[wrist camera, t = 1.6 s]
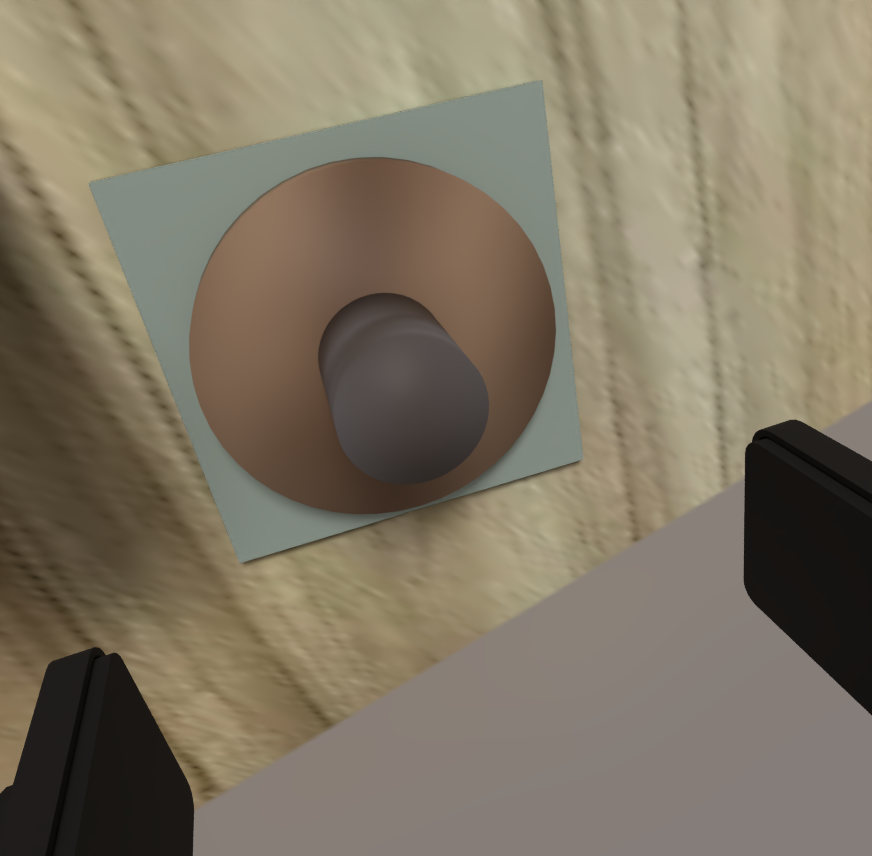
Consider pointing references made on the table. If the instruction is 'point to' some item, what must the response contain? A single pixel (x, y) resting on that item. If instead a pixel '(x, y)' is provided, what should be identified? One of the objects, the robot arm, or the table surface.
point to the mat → (267, 167)
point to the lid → (371, 335)
